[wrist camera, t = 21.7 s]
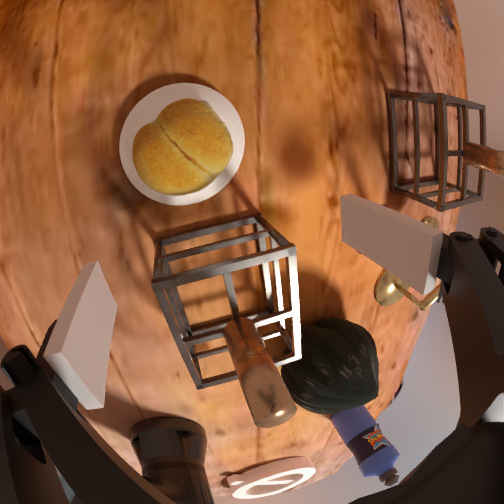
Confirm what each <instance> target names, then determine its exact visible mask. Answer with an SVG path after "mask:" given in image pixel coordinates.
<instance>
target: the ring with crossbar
mask: <svg viewBox="0 0 504 504" xmlns="http://www.w3.org/2000/svg"><path fill="white" fill-rule="evenodd" d="M315 471H316V469H315V468H314V466H313V464H312V462H311V460H310V458H308V457H293V458H288V459H283V460H279V461H275V462H271V463H268V464H265V465H262V466H259V467H256V468H253V469H251V470H248V471H246V472H244V473H242V474H240V475H239V474H233V475H231V476H229V477H227V481H228V484H229V486H230V489H231V492H232V495H233V497H235V498H240V499H246V498H247V499H248V498H257V497H262V496H267V495H271V494H275V493H278V492H281V491H284V490H287V489H289V488H292V487H294V486H296V485H298V484H300V483H302V482H304V481H305V480H307V479H309V478H310V477H311V476H312V475H313V474H314V473H315Z"/></svg>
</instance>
